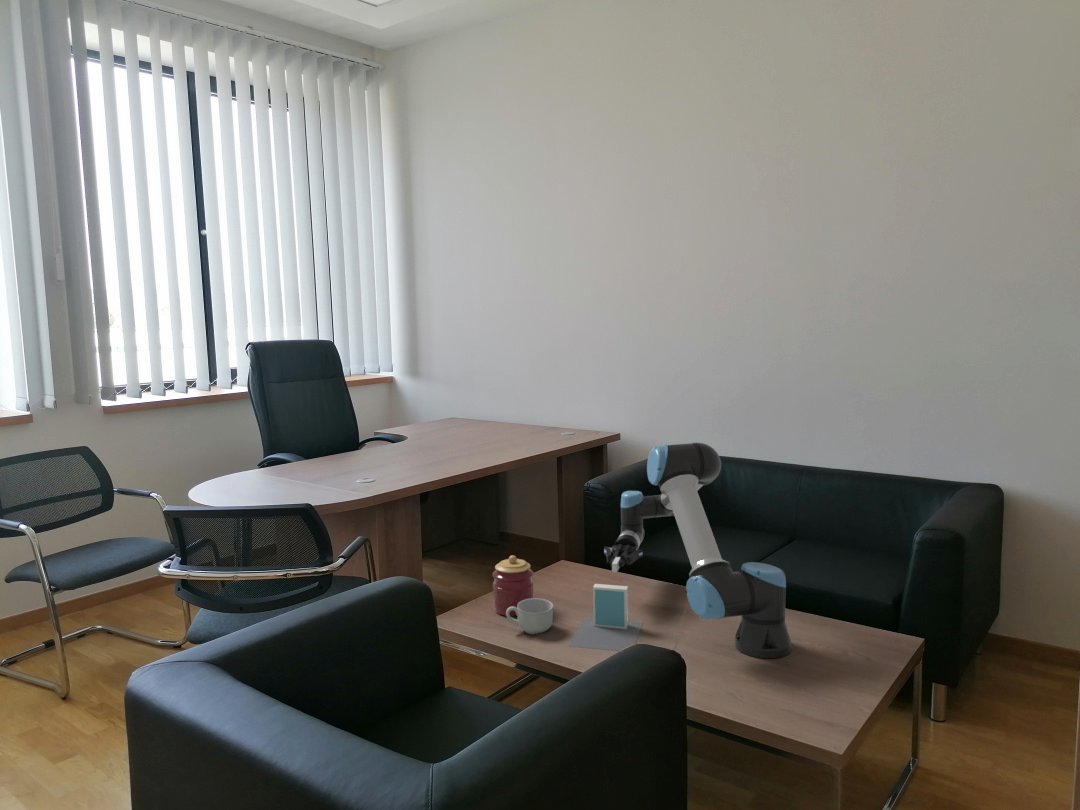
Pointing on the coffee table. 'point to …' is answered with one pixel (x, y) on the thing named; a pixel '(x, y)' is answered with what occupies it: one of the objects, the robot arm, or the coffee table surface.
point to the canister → (511, 584)
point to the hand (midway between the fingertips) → (614, 567)
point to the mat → (605, 636)
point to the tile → (610, 606)
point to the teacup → (533, 615)
